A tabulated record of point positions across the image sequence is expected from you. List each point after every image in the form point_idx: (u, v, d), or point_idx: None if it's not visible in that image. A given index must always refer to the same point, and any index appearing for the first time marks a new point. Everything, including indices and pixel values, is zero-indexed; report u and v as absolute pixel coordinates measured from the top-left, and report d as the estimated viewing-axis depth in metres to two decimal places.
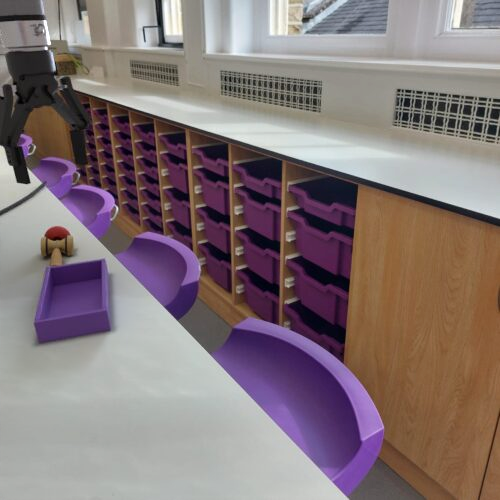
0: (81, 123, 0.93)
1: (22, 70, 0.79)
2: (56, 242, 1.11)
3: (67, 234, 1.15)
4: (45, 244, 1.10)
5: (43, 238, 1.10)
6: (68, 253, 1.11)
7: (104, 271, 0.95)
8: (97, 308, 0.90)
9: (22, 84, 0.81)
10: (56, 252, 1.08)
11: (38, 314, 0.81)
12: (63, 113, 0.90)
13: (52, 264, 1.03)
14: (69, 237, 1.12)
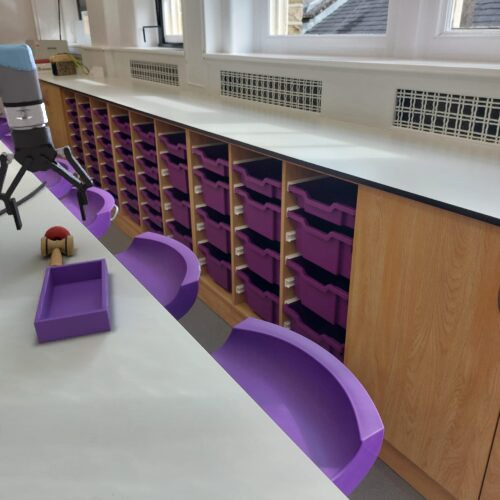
0: (80, 186, 1.05)
1: (14, 144, 0.98)
2: (56, 242, 1.11)
3: (67, 234, 1.15)
4: (45, 244, 1.10)
5: (43, 238, 1.10)
6: (68, 253, 1.11)
7: (104, 271, 0.95)
8: (97, 308, 0.90)
9: (17, 154, 1.00)
10: (56, 252, 1.08)
11: (38, 314, 0.81)
12: None
13: (52, 264, 1.03)
14: (69, 237, 1.12)
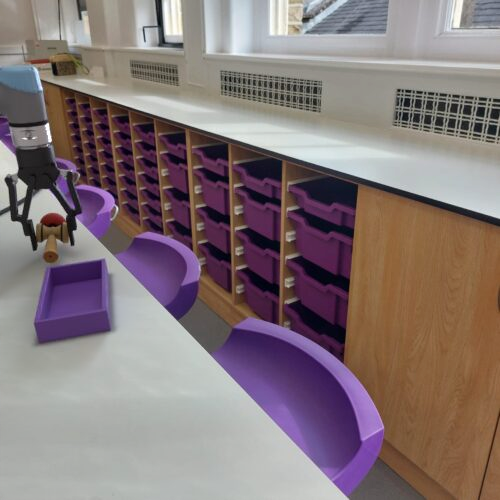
0: (70, 212, 1.07)
1: (18, 162, 1.00)
2: (51, 229, 1.10)
3: (63, 221, 1.14)
4: (40, 230, 1.08)
5: (38, 224, 1.09)
6: (63, 240, 1.10)
7: (104, 271, 0.95)
8: (97, 308, 0.90)
9: (20, 172, 1.01)
10: (51, 238, 1.07)
11: (38, 314, 0.81)
12: None
13: (47, 250, 1.02)
14: (65, 224, 1.10)
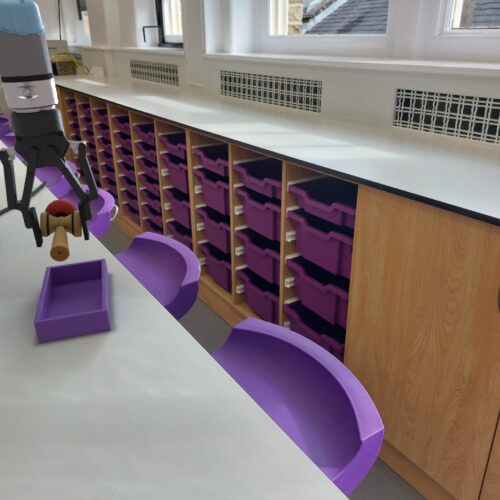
0: (83, 197, 0.84)
1: (15, 131, 0.76)
2: (60, 219, 0.86)
3: (74, 209, 0.90)
4: (46, 221, 0.85)
5: (43, 213, 0.85)
6: (75, 233, 0.86)
7: (104, 271, 0.95)
8: (97, 308, 0.90)
9: (18, 144, 0.78)
10: (60, 230, 0.83)
11: (38, 314, 0.81)
12: None
13: (55, 245, 0.78)
14: (77, 212, 0.87)
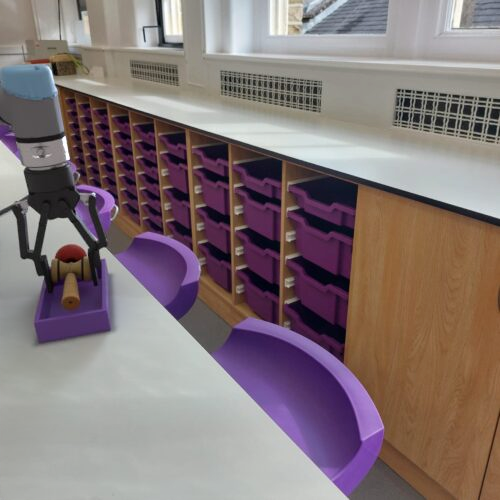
0: (93, 246, 0.87)
1: (28, 187, 0.79)
2: (70, 265, 0.90)
3: (83, 254, 0.93)
4: (57, 268, 0.88)
5: (54, 260, 0.89)
6: (85, 279, 0.90)
7: (104, 271, 0.95)
8: (97, 308, 0.90)
9: (31, 198, 0.81)
10: (71, 278, 0.86)
11: (38, 314, 0.81)
12: None
13: (66, 295, 0.81)
14: (86, 259, 0.90)
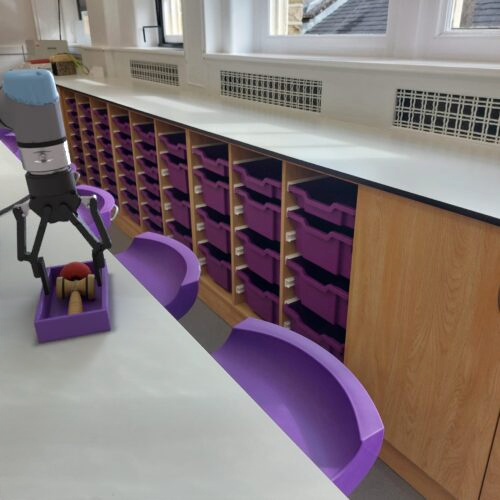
0: (97, 247, 0.87)
1: (29, 191, 0.80)
2: (75, 283, 0.91)
3: (87, 272, 0.95)
4: (61, 286, 0.89)
5: (59, 279, 0.90)
6: (89, 296, 0.91)
7: (104, 271, 0.95)
8: (97, 308, 0.90)
9: (32, 202, 0.81)
10: (75, 296, 0.88)
11: (38, 314, 0.81)
12: None
13: None
14: (90, 277, 0.92)
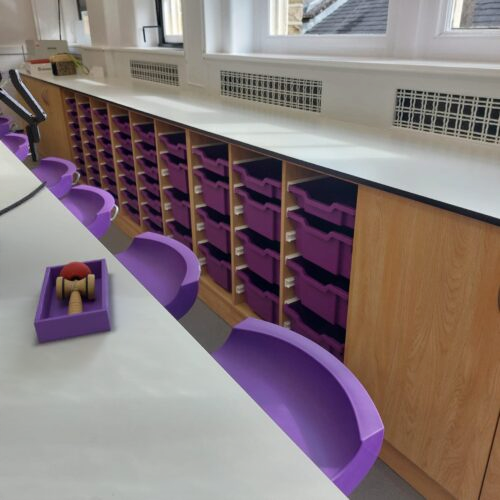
0: (29, 119, 0.88)
1: None
2: (75, 283, 0.91)
3: (87, 272, 0.95)
4: (61, 286, 0.89)
5: (59, 278, 0.90)
6: (89, 296, 0.91)
7: (104, 271, 0.95)
8: (97, 308, 0.90)
9: None
10: (75, 296, 0.88)
11: (38, 314, 0.81)
12: None
13: None
14: (90, 277, 0.92)
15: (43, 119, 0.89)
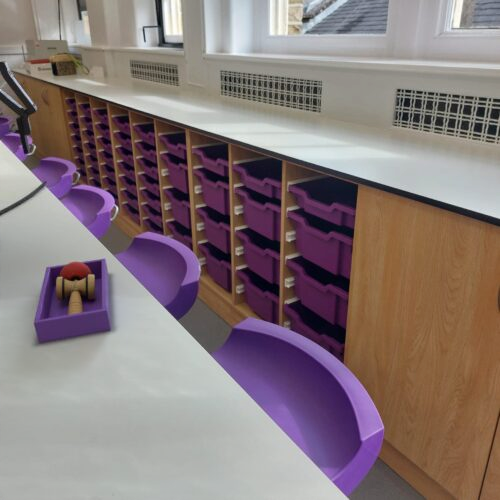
0: (20, 111, 0.89)
1: None
2: (75, 283, 0.91)
3: (87, 272, 0.95)
4: (61, 286, 0.89)
5: (59, 278, 0.90)
6: (89, 296, 0.91)
7: (104, 271, 0.95)
8: (97, 308, 0.90)
9: None
10: (75, 296, 0.88)
11: (38, 314, 0.81)
12: None
13: None
14: (90, 277, 0.92)
15: (33, 111, 0.90)
